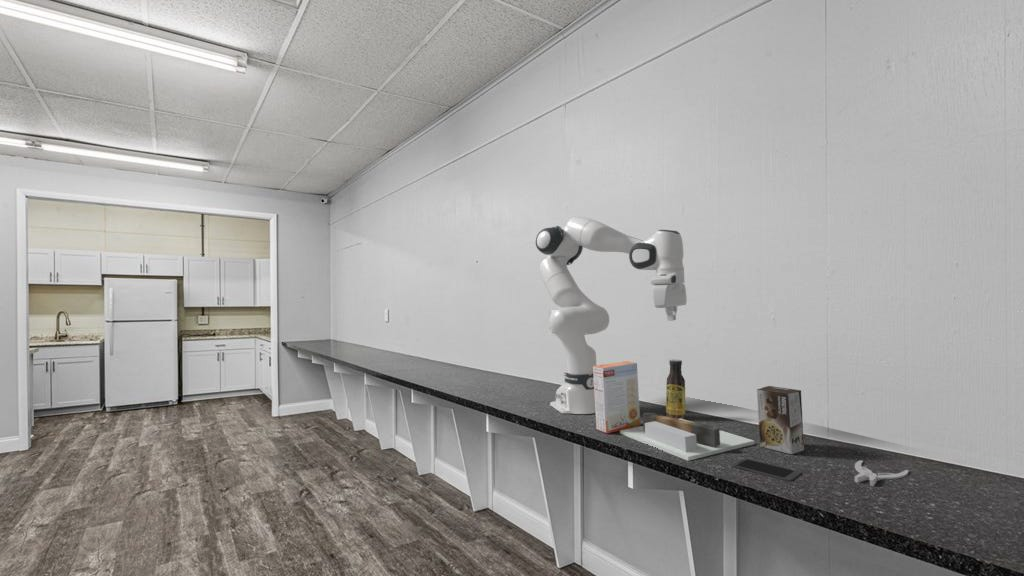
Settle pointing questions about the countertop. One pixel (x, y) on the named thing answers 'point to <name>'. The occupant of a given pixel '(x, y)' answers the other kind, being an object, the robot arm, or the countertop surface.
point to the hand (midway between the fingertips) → (671, 320)
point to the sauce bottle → (675, 391)
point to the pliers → (872, 477)
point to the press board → (695, 454)
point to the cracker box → (616, 396)
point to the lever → (688, 428)
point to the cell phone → (767, 469)
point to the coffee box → (780, 419)
